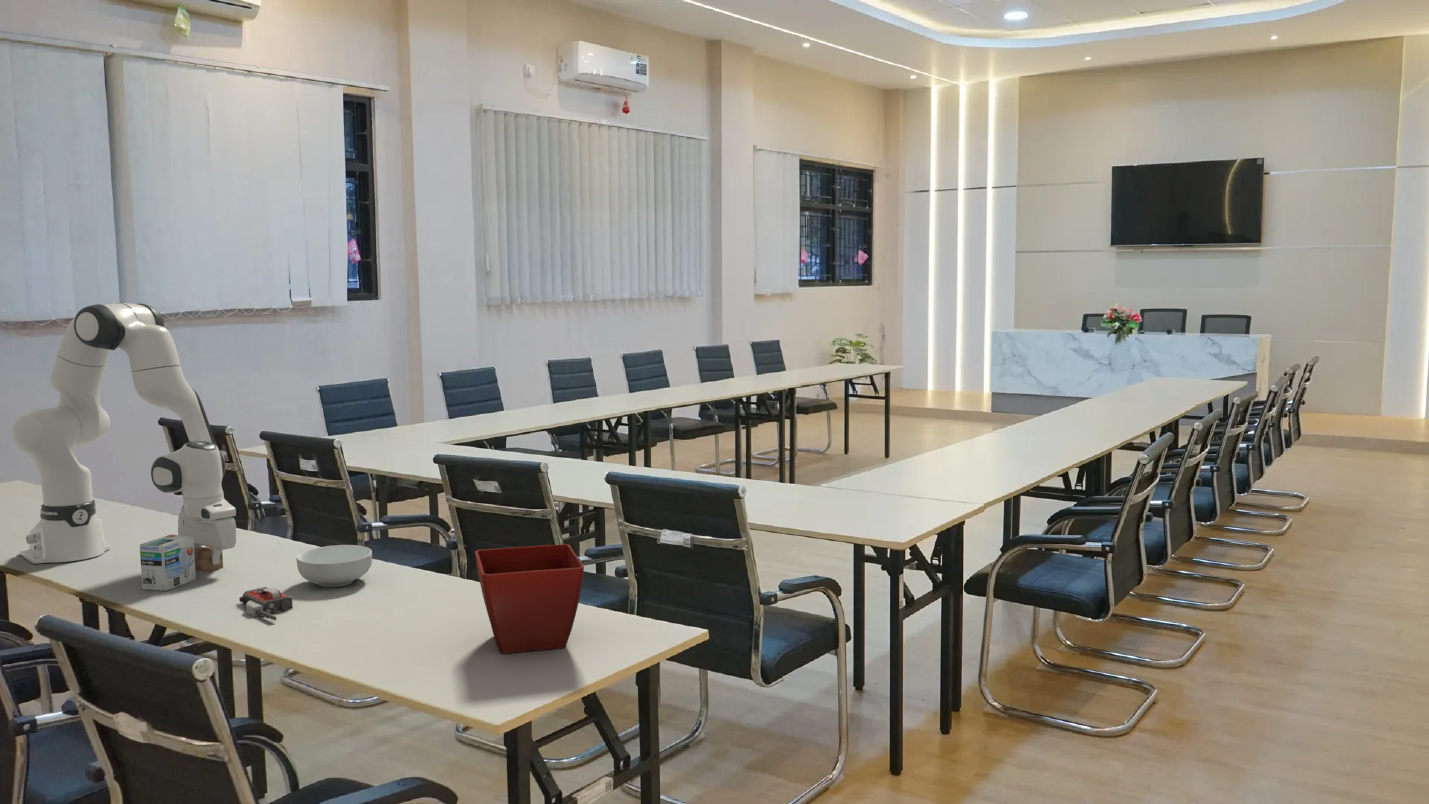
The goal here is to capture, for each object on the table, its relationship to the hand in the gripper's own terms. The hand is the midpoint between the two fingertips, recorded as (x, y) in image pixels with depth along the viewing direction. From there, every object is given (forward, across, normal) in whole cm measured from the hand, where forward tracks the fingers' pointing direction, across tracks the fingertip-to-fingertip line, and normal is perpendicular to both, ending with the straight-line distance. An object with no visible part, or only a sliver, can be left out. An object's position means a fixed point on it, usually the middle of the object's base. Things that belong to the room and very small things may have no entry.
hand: (207, 562), depth 269 cm
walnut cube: (+2, 0, 0) cm, 2 cm away
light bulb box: (+2, +6, -13) cm, 14 cm away
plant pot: (+2, +105, +5) cm, 105 cm away
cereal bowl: (+2, +37, +10) cm, 38 cm away
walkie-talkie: (+2, +44, -12) cm, 45 cm away
